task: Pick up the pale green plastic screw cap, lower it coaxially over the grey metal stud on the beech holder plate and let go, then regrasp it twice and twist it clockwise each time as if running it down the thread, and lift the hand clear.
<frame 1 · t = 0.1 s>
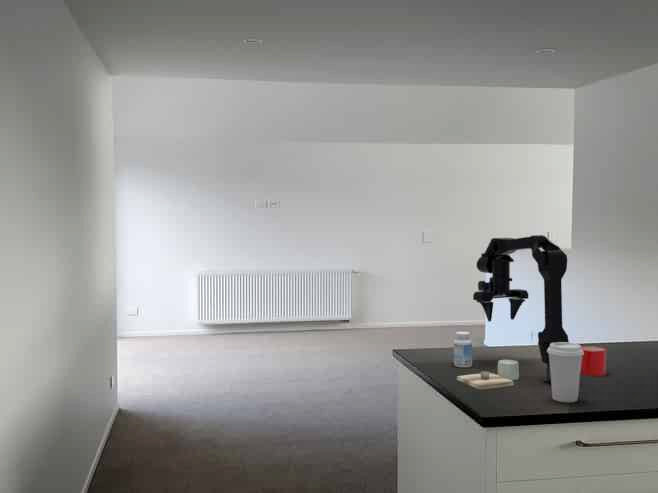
hand: (500, 320, 220), 15 cm above the table, fingers open, 9 cm apart
coffee cup: (564, 399, 178), on the table
pill bottle: (462, 366, 218), on the table
cap: (508, 377, 202), on the table
mug: (585, 372, 208), on the table
holder: (484, 382, 196), on the table
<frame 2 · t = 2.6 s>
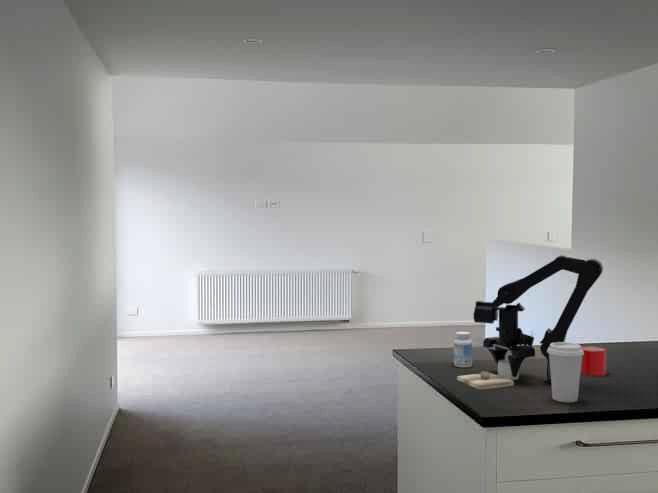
hand: (508, 374, 201), 1 cm above the table, fingers closed on cap, 6 cm apart
cap: (508, 377, 202), on the table, touching gripper
everything else where it was.
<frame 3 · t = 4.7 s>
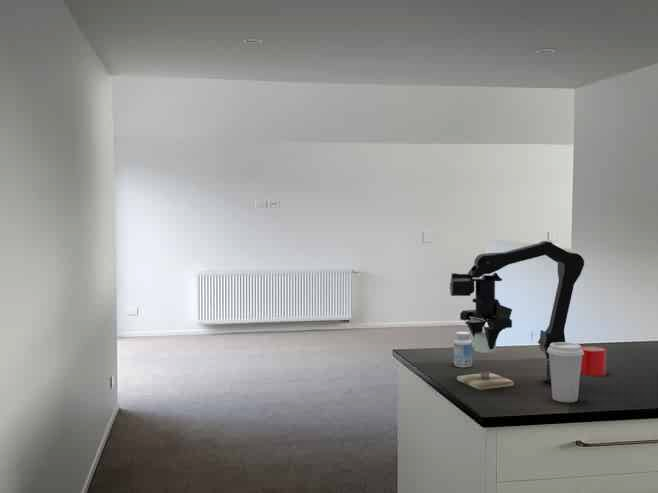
hand: (485, 347, 195), 11 cm above the table, fingers closed on cap, 6 cm apart
cap: (485, 350, 196), point 10 cm above the table, touching gripper
everything else where it was.
when the fingers open (3 cm above the table, at t = 6.8 s): cap drops 1 cm, resting on holder.
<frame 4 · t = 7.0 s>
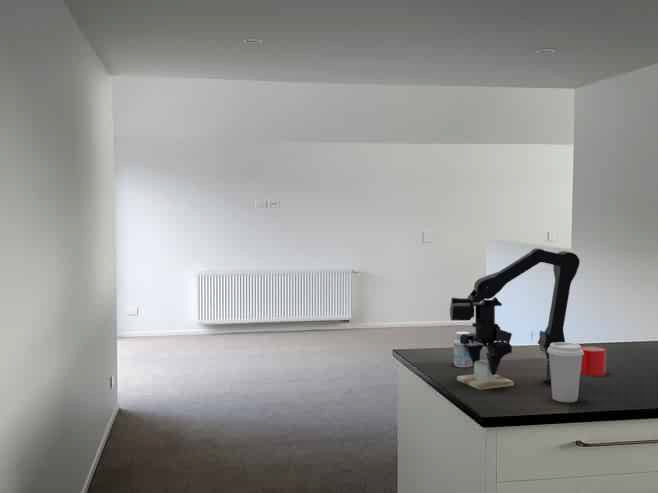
hand: (485, 371, 196), 3 cm above the table, fingers open, 8 cm apart
cap: (484, 378, 196), point 1 cm above the table, touching holder
everything else where it was.
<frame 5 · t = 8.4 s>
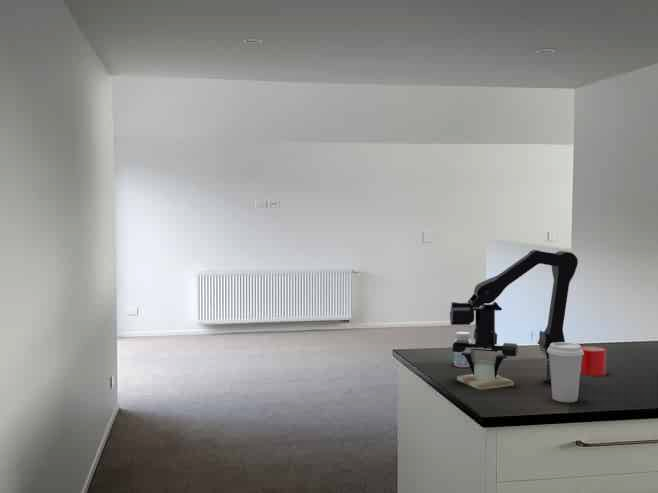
hand: (484, 376, 196), 2 cm above the table, fingers closed on cap, 6 cm apart
cap: (484, 378, 196), point 1 cm above the table, touching gripper, holder
everything else where it was.
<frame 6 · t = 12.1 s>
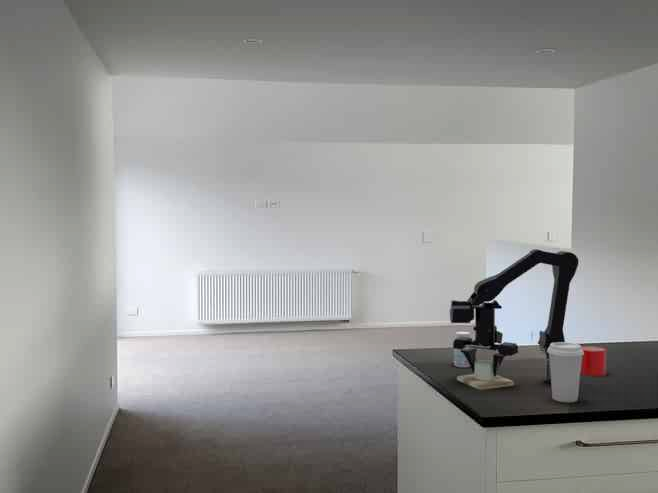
hand: (484, 374, 196), 3 cm above the table, fingers closed on cap, 6 cm apart
cap: (484, 378, 196), point 1 cm above the table, touching gripper
everything else where it was.
when the fingers open (2 cm above the table, at t = 13.2 s): cap stays where it is, resting on holder.
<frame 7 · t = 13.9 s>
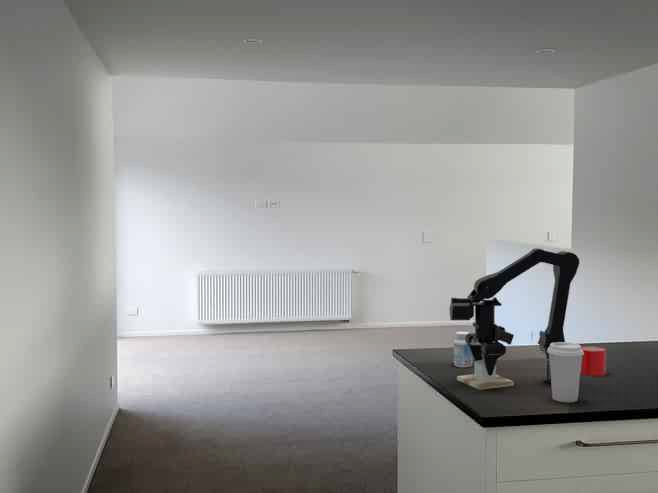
hand: (484, 371, 196), 3 cm above the table, fingers open, 9 cm apart
cap: (485, 378, 196), point 1 cm above the table, touching holder
everything else where it was.
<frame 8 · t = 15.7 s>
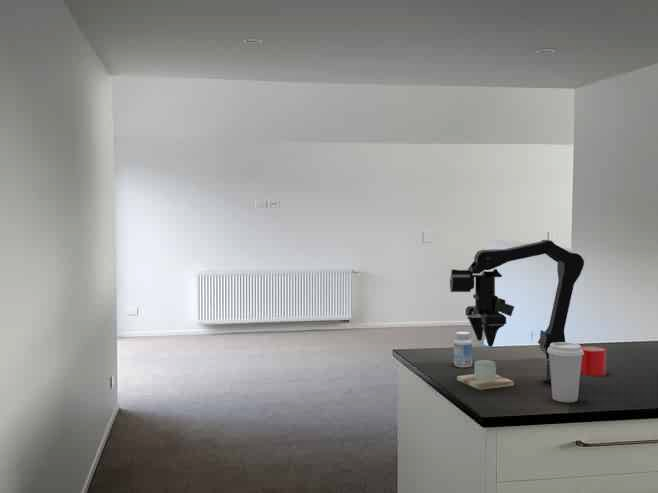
hand: (484, 343, 195), 12 cm above the table, fingers open, 9 cm apart
nothing on the table moved.
at the end: cap 0.1 cm from the holder (horizontally); cap point 1.2 cm above the table; cap tilted 0° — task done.
